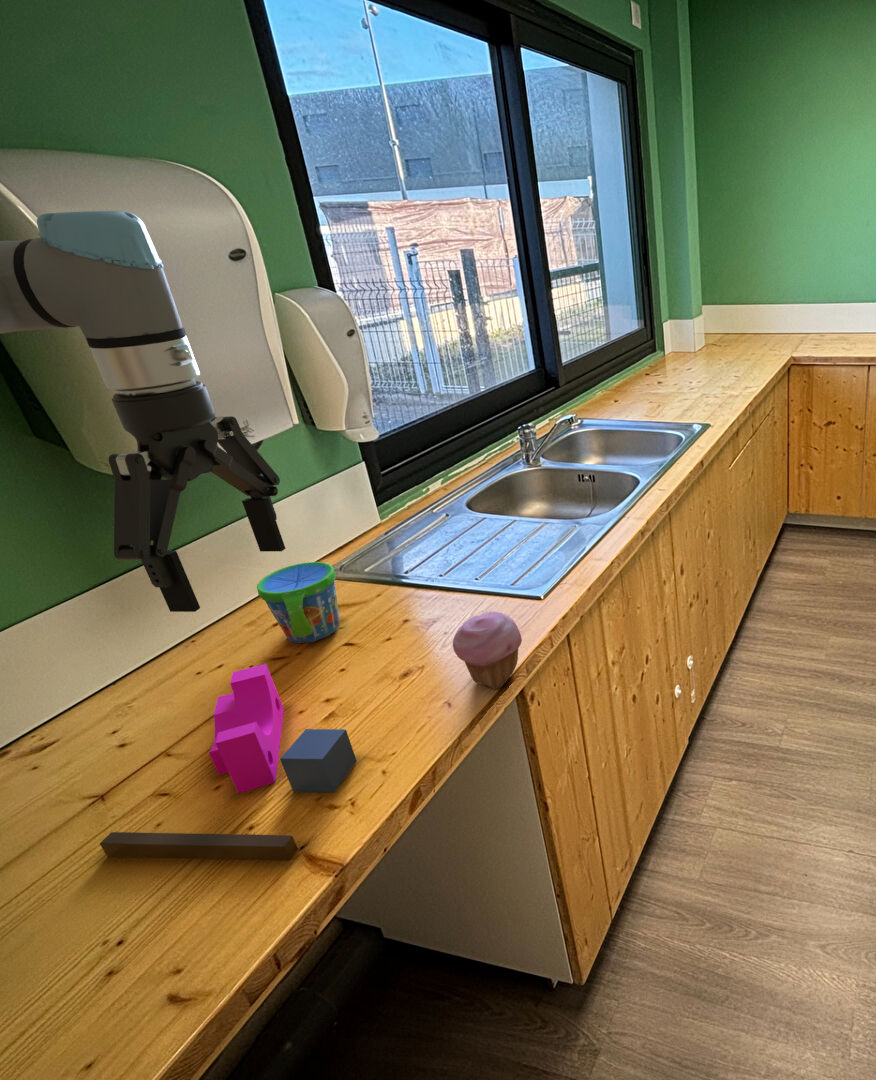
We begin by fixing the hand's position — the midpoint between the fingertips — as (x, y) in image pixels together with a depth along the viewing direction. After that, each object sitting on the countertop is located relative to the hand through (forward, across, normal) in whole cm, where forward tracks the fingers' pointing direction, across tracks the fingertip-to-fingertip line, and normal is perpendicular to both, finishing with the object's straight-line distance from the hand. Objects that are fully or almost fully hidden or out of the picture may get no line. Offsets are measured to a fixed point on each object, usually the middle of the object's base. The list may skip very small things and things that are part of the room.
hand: (232, 577), depth 77 cm
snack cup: (+24, +26, +14) cm, 38 cm away
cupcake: (+24, +15, -20) cm, 35 cm away
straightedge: (+24, -16, 0) cm, 29 cm away
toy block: (+24, -1, +6) cm, 25 cm away
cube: (+24, -5, -6) cm, 25 cm away
